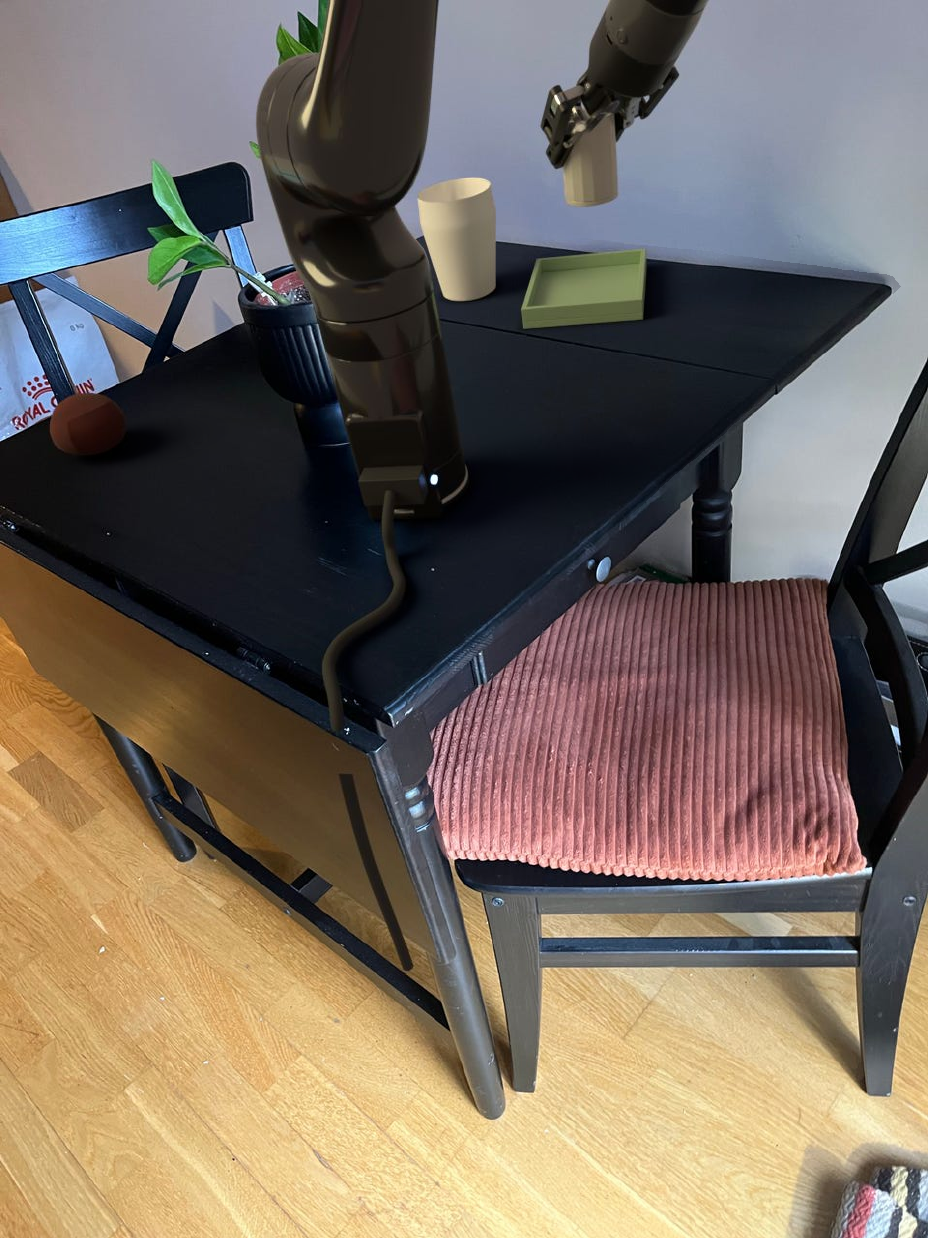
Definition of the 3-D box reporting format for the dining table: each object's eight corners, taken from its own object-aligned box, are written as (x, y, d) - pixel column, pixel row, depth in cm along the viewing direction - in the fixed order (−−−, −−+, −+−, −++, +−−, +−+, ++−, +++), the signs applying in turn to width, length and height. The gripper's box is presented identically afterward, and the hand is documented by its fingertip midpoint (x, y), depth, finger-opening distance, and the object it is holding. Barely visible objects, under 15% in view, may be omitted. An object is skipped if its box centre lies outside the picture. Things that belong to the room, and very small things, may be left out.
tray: (642, 319, 100) (642, 298, 99) (523, 328, 103) (521, 308, 102) (646, 267, 111) (646, 248, 110) (538, 277, 114) (536, 258, 113)
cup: (495, 304, 110) (481, 199, 102) (424, 307, 112) (405, 205, 105) (512, 274, 116) (500, 173, 108) (444, 278, 119) (428, 180, 111)
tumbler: (616, 203, 94) (612, 117, 89) (563, 209, 95) (556, 124, 90) (619, 187, 98) (615, 103, 93) (568, 192, 99) (561, 110, 94)
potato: (76, 478, 92) (49, 425, 88) (53, 451, 98) (28, 400, 94) (144, 449, 95) (121, 396, 91) (118, 424, 101) (96, 373, 97)
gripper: (692, -33, 81) (617, 103, 98) (558, 4, 77) (503, 140, 93) (732, 39, 81) (650, 164, 97) (600, 80, 77) (537, 204, 93)
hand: (578, 152), depth 95 cm, fingers closed on tumbler, 5 cm apart
